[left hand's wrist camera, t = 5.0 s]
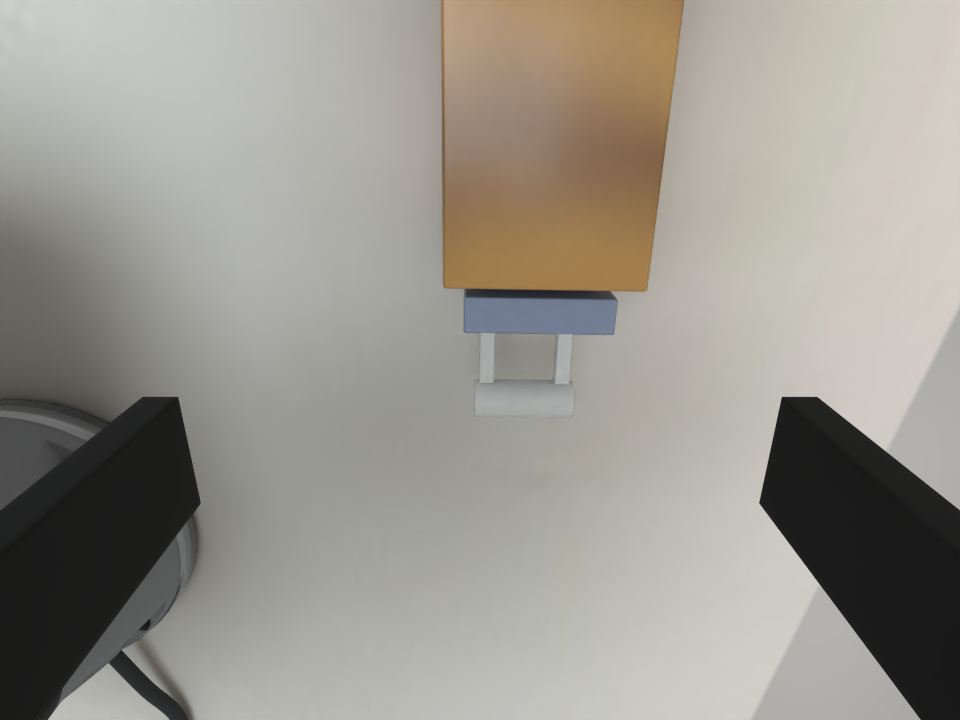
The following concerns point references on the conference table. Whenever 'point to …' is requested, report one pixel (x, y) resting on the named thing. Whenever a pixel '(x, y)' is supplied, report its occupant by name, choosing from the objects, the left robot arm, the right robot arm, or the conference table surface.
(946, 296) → the conference table surface
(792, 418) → the left robot arm
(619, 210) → the tan wooden box
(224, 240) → the conference table surface
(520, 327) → the drawer
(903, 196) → the conference table surface
